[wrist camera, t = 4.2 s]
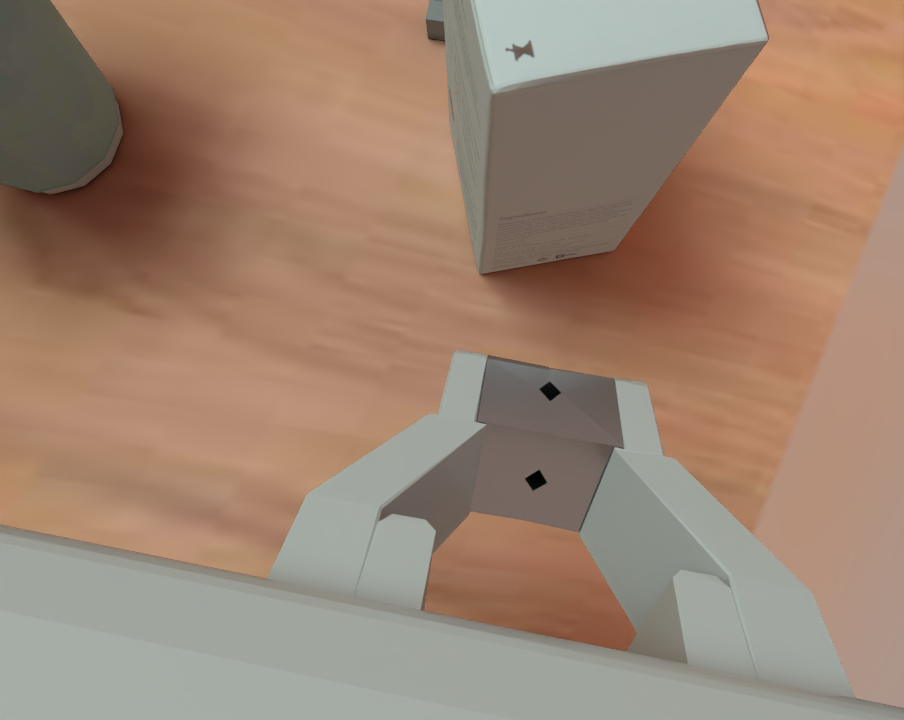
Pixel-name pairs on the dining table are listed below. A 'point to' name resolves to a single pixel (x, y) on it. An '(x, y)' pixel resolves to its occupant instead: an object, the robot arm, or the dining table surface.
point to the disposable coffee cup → (51, 103)
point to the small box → (581, 112)
